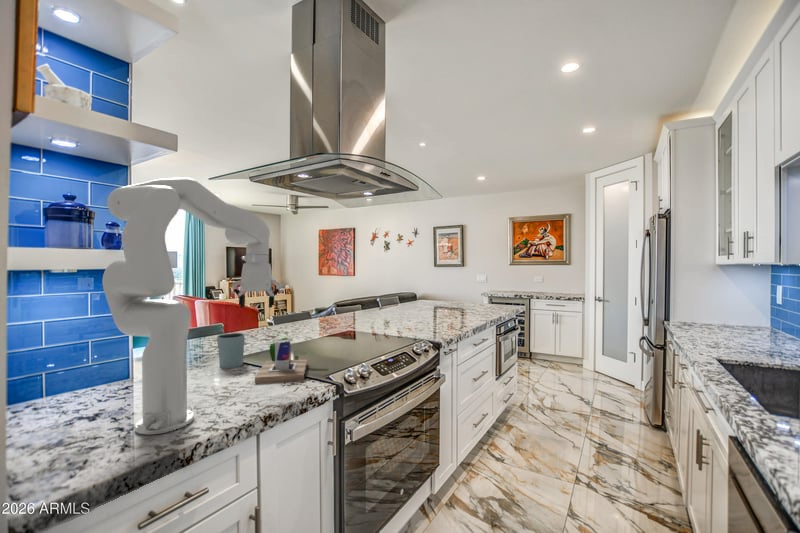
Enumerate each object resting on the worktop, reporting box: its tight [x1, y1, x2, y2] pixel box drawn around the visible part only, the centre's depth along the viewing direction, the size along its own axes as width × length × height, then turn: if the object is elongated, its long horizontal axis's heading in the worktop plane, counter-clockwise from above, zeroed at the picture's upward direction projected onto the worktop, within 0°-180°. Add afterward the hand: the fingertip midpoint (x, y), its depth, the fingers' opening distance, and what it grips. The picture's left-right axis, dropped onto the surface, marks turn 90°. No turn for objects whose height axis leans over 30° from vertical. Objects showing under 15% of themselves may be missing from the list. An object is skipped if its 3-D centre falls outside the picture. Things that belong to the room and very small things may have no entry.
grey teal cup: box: [216, 332, 245, 369], centre depth 144 cm, size 10×10×12 cm
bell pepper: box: [269, 337, 292, 361], centre depth 147 cm, size 8×8×10 cm
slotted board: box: [254, 359, 308, 384], centre depth 133 cm, size 20×16×2 cm
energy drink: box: [274, 339, 291, 370], centre depth 133 cm, size 5×5×12 cm
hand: (256, 307), depth 129 cm, fingers open, 9 cm apart
